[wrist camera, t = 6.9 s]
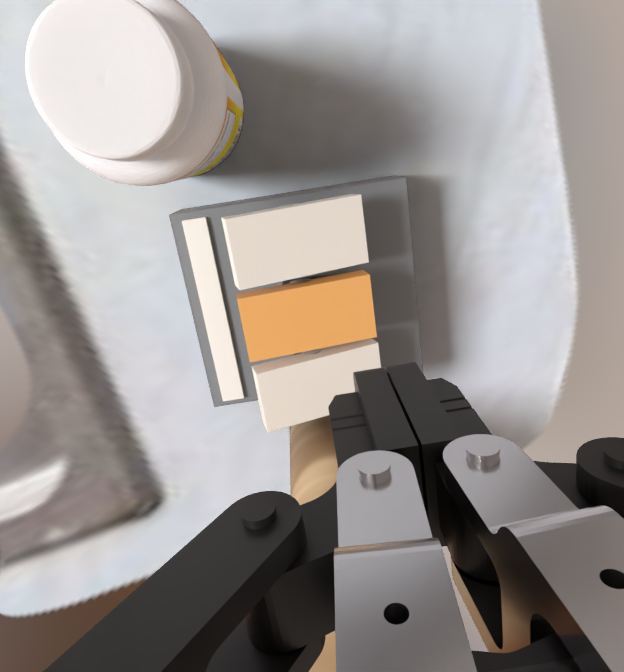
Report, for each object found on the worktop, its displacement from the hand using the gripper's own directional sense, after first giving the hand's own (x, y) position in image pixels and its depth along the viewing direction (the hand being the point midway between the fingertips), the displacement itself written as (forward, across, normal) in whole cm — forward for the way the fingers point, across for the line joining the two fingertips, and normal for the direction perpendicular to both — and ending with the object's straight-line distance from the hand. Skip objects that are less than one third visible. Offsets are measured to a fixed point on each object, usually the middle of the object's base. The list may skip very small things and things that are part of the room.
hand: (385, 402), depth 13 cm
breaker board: (+14, +2, 0) cm, 14 cm away
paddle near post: (+9, +2, +3) cm, 10 cm away
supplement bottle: (+14, +6, -8) cm, 17 cm away
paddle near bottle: (+9, +2, -3) cm, 10 cm away
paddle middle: (+9, +2, 0) cm, 9 cm away
